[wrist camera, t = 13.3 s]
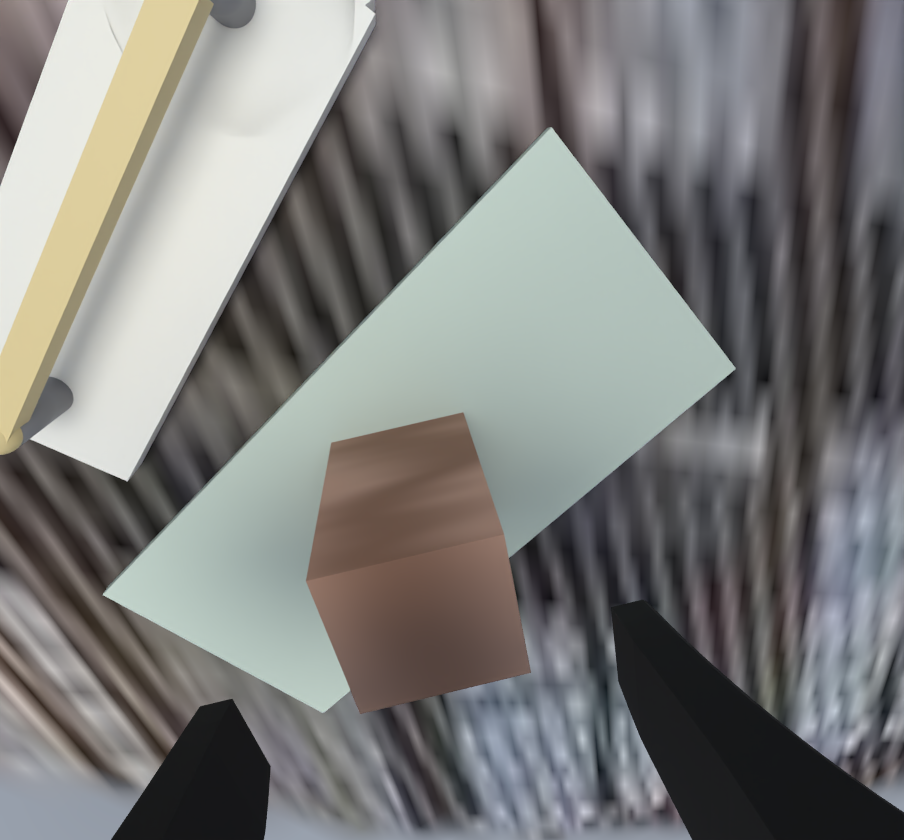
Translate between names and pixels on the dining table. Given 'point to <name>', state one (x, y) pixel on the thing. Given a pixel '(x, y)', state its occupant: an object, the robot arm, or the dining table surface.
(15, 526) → the dining table surface
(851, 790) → the robot arm
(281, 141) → the wire track
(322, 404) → the end mat
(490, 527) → the rust block
